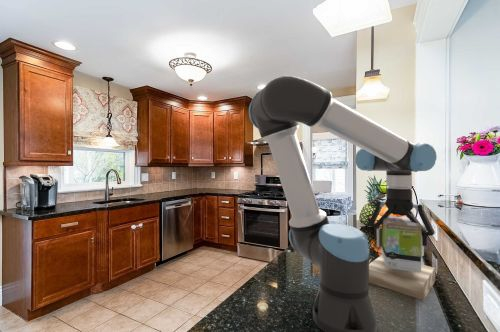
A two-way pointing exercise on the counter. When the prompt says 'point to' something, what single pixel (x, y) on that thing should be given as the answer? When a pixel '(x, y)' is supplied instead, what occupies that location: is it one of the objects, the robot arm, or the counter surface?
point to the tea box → (401, 244)
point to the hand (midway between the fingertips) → (399, 250)
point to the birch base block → (402, 279)
